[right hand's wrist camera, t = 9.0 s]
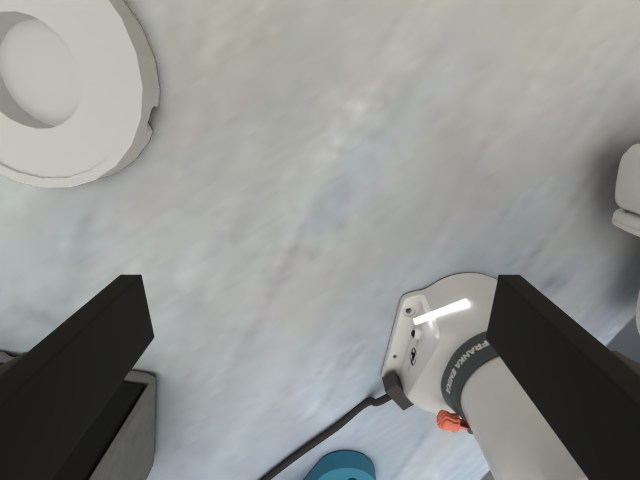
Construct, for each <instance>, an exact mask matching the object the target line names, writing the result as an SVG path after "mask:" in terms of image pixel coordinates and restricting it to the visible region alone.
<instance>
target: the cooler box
mask: <svg viewBox="0 0 640 480" xmlns="http://www.w3.org/2000/svg"><path fill="white" fill-rule="evenodd" d="M13 358H15V357H11V356H9V355H8V354H6V353H5V352H1V351H0V366H1V365H2V364H4V363H6V362H8V361H9V360H11V359H13ZM155 402H156V378H155V377H154V376H152V375H150V374H148V373H146V372H139V371H132V370H131V371H130V372H129V373H128V374H127V376H126V377H125V379H124V380H123V381H122V383H121V384H120V385H119V387H118V388H117V390H116V391H115V392H114V394H113V395H112V397H111V398H110V399H109V401H108V402H107V403H106V405H105V406H104V408H103V409H102V410H101V412H100V413H99V415H98V416H97V417H96V419H95V420H94V421H93V423H92V424H91V426H90V427H89V428H88V430H87V431H86V433H85V434H84V435H83V437H82V438H81V439H80V441H79V442H78V444H77V445H76V446H75V448H74V449H73V451H72V452H71V453H70V455H69V456H68V457H67V459H66V460H65V462H64V463H63V464H62V466H61V467H60V468H59V470H58V471H57V473H56V474H55V475H54V477H53V478H52V480H146V479H147V477H148V475H149V472H150V470H151V468H152V466H153V461H154V449H155Z"/></svg>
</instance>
